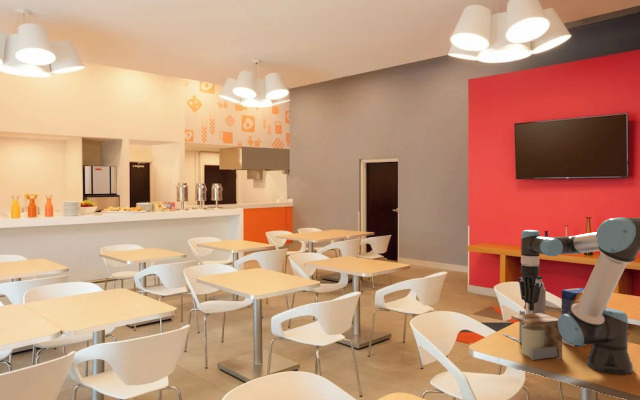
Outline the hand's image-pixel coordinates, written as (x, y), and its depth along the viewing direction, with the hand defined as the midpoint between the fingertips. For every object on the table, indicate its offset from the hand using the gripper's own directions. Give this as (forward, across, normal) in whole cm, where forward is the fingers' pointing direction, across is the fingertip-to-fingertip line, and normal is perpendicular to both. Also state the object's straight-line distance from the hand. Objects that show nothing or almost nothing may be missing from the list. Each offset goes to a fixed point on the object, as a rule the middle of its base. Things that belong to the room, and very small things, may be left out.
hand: (529, 317), depth 208 cm
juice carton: (+13, -4, -24) cm, 28 cm away
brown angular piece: (+13, 0, +5) cm, 14 cm away
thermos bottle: (+13, +14, -16) cm, 25 cm away
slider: (+12, -6, +6) cm, 15 cm away
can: (+13, -10, +6) cm, 17 cm away
